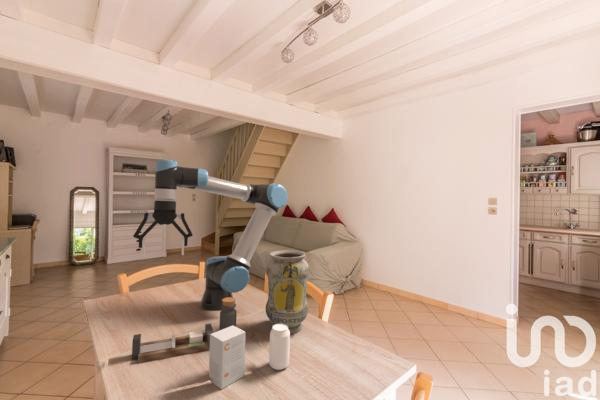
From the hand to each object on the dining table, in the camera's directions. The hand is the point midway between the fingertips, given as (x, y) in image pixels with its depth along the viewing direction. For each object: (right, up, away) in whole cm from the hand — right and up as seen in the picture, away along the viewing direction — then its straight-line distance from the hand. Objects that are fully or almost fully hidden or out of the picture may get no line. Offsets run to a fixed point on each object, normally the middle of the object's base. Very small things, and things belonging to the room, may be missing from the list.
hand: (163, 255), depth 106 cm
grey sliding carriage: (+6, -28, -18) cm, 34 cm away
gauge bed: (+12, -29, -15) cm, 35 cm away
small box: (+31, -30, -27) cm, 51 cm away
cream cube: (+17, -28, -12) cm, 35 cm away
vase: (+47, -31, +7) cm, 56 cm away
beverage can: (+46, -30, -20) cm, 59 cm away
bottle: (+26, -30, -6) cm, 40 cm away
